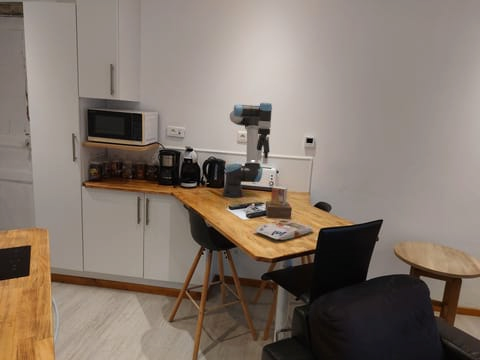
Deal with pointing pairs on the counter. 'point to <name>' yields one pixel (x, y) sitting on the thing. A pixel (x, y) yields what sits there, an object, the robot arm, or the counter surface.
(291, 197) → the counter surface
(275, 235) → the dog food
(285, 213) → the walnut block
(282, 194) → the small box
